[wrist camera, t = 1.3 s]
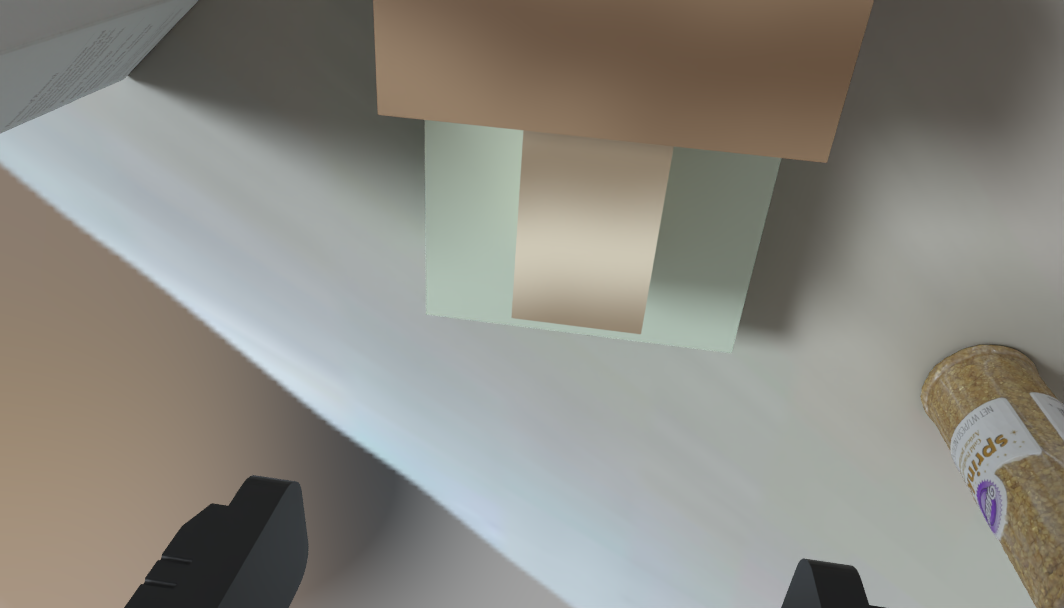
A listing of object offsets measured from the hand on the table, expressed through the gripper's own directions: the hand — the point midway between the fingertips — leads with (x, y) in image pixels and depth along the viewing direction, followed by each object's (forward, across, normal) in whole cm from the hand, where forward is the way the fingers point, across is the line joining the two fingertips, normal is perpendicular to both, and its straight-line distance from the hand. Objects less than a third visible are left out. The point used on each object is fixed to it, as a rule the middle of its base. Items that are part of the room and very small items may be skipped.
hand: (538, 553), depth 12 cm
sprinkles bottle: (+19, -17, +8) cm, 27 cm away
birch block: (+16, 0, -3) cm, 16 cm away
